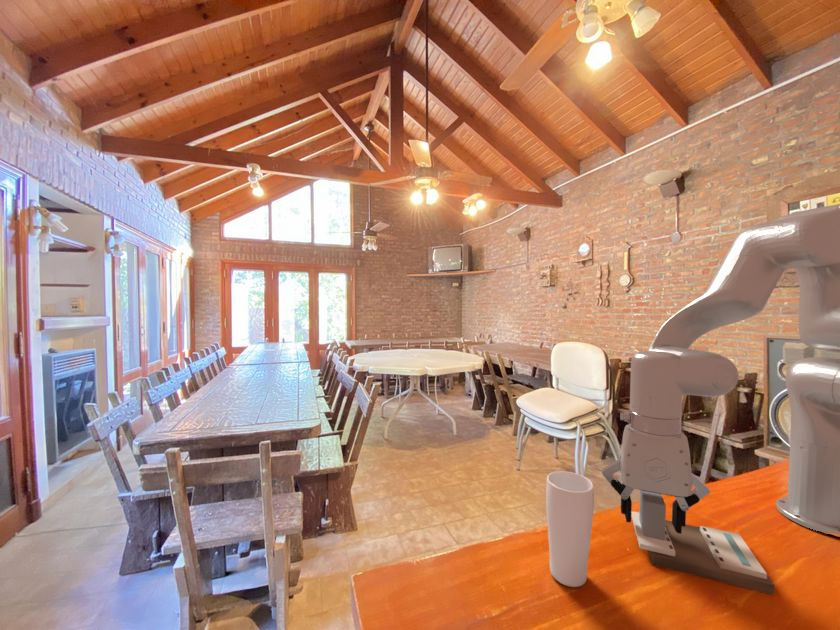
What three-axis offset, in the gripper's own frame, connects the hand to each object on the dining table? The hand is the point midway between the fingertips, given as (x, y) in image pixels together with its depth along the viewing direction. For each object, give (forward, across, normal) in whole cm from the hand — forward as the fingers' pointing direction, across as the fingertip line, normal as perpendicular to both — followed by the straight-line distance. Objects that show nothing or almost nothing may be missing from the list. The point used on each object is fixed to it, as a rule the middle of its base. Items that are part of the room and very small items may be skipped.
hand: (651, 522), depth 63 cm
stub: (+2, 0, 0) cm, 2 cm away
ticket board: (+4, +7, 0) cm, 8 cm away
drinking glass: (+4, -13, -14) cm, 20 cm away
